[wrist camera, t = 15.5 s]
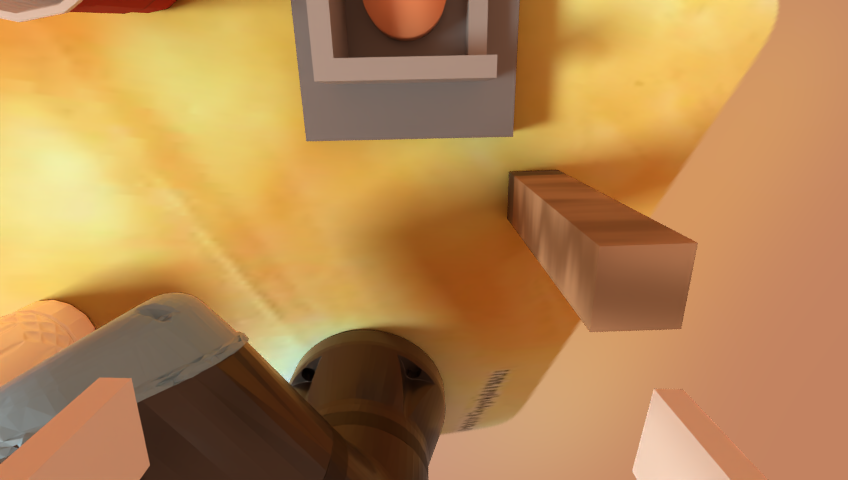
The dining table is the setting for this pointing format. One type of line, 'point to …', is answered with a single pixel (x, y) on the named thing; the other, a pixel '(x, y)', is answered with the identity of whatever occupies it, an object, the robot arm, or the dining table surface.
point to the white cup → (38, 335)
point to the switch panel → (406, 72)
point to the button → (405, 17)
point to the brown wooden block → (602, 253)
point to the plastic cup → (75, 7)
